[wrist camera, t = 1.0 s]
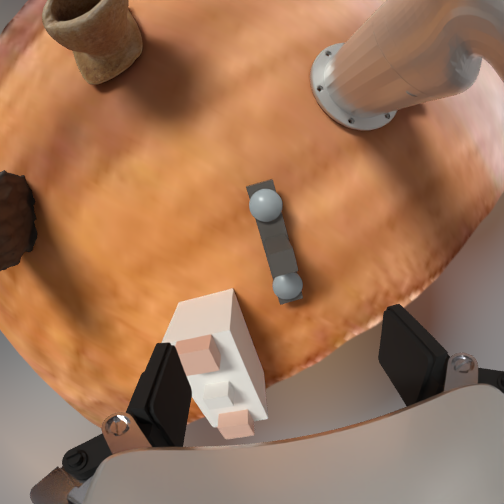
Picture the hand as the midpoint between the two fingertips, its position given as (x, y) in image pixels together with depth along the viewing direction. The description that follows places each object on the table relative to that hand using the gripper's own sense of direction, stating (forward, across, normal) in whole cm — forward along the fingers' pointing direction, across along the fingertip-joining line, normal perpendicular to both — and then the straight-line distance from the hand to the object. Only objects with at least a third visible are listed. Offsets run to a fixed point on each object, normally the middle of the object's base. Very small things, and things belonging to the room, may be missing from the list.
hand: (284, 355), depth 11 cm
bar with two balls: (+24, -2, +1) cm, 24 cm away
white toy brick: (+25, +7, +16) cm, 30 cm away
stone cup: (+24, +16, -32) cm, 43 cm away
